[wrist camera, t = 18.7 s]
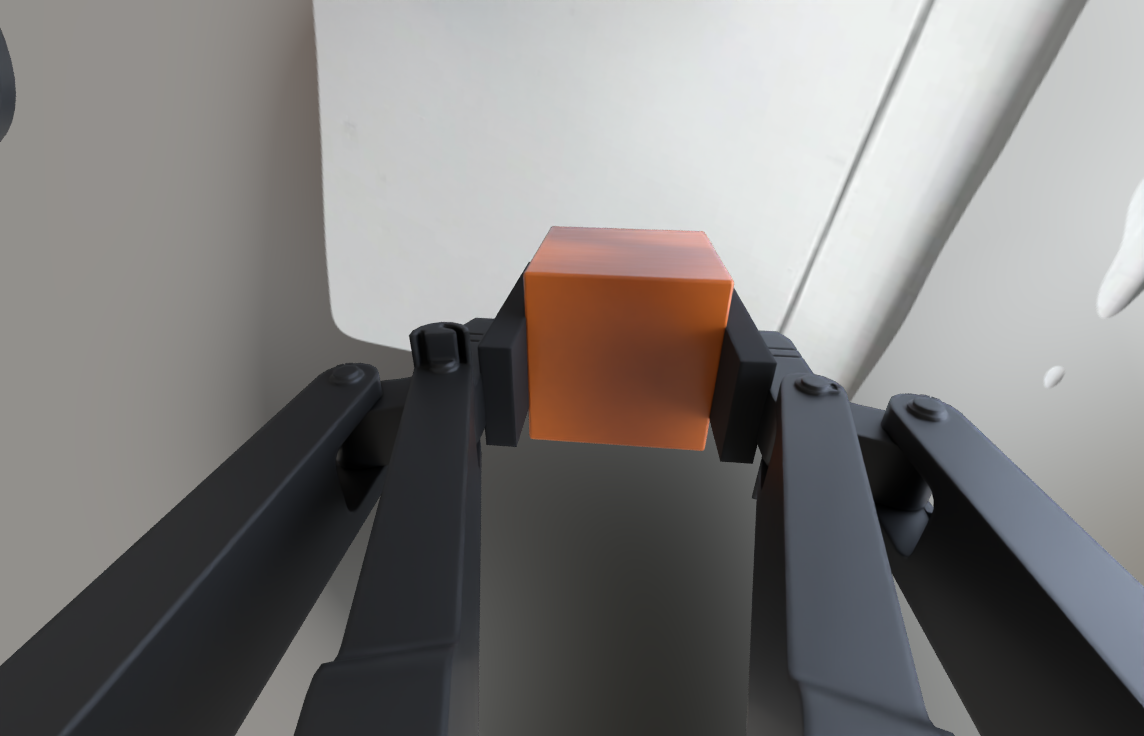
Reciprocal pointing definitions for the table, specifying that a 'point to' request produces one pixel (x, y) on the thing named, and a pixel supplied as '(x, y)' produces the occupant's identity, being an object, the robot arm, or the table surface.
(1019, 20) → the table surface
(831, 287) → the table surface
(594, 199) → the table surface
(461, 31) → the table surface
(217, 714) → the robot arm
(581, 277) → the block
